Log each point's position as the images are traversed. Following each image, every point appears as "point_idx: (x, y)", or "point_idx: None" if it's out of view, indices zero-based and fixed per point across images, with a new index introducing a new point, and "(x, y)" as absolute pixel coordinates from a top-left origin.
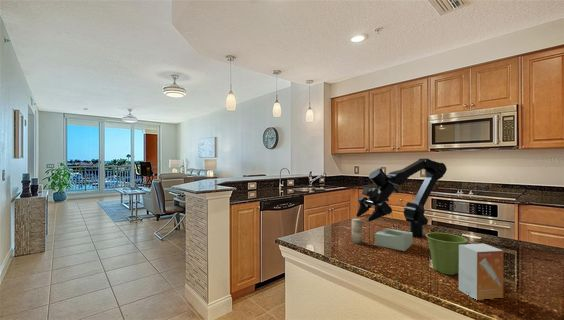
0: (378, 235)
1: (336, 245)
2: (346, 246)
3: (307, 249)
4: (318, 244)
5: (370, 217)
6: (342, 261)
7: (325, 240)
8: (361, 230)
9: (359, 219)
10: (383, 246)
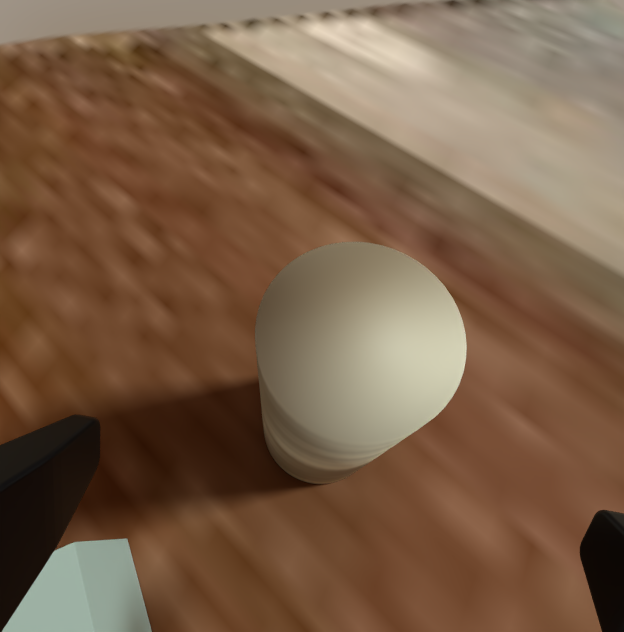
0: None
1: (324, 199)
2: (261, 249)
3: (342, 15)
4: (406, 112)
5: (5, 446)
6: (41, 49)
7: (481, 205)
8: (264, 415)
9: (364, 408)
10: None
